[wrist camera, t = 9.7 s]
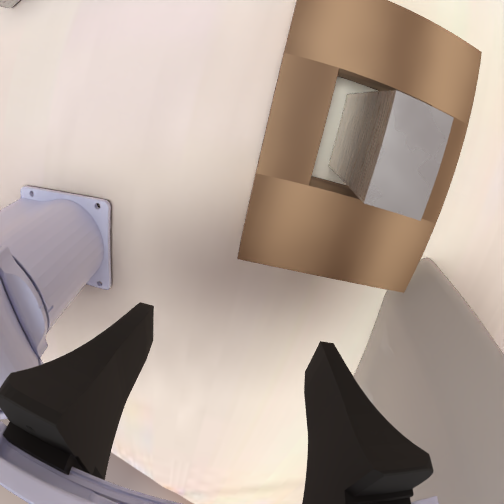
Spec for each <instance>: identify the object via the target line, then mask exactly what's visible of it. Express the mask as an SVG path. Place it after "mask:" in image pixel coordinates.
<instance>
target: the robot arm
mask: <svg viewBox="0 0 504 504" xmlns="http://www.w3.org/2000/svg"><path fill="white" fill-rule="evenodd" d="M32 191H33V193H34V195H33V193H32ZM97 203H98V204H99V205H100V208H99V207H98V206H97ZM110 212H111V206H110V203H109V202H108V201H107V200H105V199H99V198H94V197H88V196H83V195H77V194H72V193H66V192H61V191H55V190H49V189H43V188H37V187H32V186H23V187H22V188H21V198H20V199H19V200H17V201H15V202H13V203H11V204H10V205H8V206H6V207H5V208H3V209H1V210H0V419H9V421H10V422H9V424H8V426H6V425H5V424H4V423H2V422H1V421H0V485H2V486H3V487H4V488H6V489H7V490H9V491H10V492H12V493H13V494H15V495H16V496H18V497H20V498H21V499H23V500H24V501H26V502H27V503H29V504H117V503H118V504H181V503H177V502H173V501H169V500H165V499H160V498H157V497H154V496H150V495H147V494H143V493H140V492H137V491H134V490H130V489H128V488H125V487H122V486H119V485H116V484H113V483H111V482H108V481H105V475H106V470H107V466H108V461H109V456H110V453H111V449H112V445H113V441H114V437H115V434H116V431H117V427H118V424H119V421H120V418H121V415H122V412H123V409H124V406H125V403H126V401H127V398H128V396H129V394H130V392H131V390H132V388H133V386H134V384H135V382H136V380H137V378H138V376H139V374H140V372H141V369H142V367H143V365H144V363H145V361H146V359H147V356H148V353H149V351H150V348H151V345H152V342H153V309H154V306H152V305H148V304H144V303H139V304H137V305H136V306H135V307H134V308H132V309H131V310H130V311H129V312H128V313H127V314H125V315H124V316H123V317H122V318H120V319H119V320H118V321H117V322H115V323H114V324H113V325H112V326H110V327H109V328H108V329H106V330H105V331H104V332H102V333H101V334H99V335H98V336H96V337H95V338H93V339H92V340H91V341H89V342H87V343H86V344H84V345H82V346H81V347H79V348H77V349H75V350H74V351H72V352H70V353H68V354H66V355H64V356H61V357H59V358H57V359H55V360H53V361H50V362H47V363H45V364H43V362H42V360H41V359H40V357H41V356H42V354H43V353H44V351H45V350H46V348H47V347H48V345H47V342H46V334H47V332H48V331H49V330H50V328H51V327H52V326H53V324H54V323H55V322H56V320H57V319H58V318H59V317H60V315H61V314H62V313H63V311H64V310H65V309H66V308H67V306H68V305H69V304H70V303H71V301H72V300H73V299H74V298H75V296H76V295H77V294H78V293H79V292H80V290H81V289H82V288H83V287H84V286H85V284H88V285H91V286H95V287H98V288H102V289H105V290H108V289H109V288H110V287H111V260H110ZM99 281H100V282H101V283H102V284H101V283H100V282H99ZM304 394H305V405H306V416H307V428H308V459H307V472H306V481H305V490H304V497H303V503H302V504H439V502H438V497H437V496H433V497H429V498H425V499H421V500H417V501H414V502H411V500H410V497H412V496H413V495H414V493H413V488H415V487H416V486H418V485H419V484H421V483H422V482H424V481H425V480H427V479H428V478H429V477H430V476H431V475H432V474H433V471H434V470H433V466H432V462H431V459H430V455H429V453H427V452H426V451H424V450H423V449H421V448H420V447H418V446H417V445H415V444H414V443H412V442H411V441H410V440H409V439H407V438H406V437H405V436H404V435H402V434H401V433H400V432H399V431H398V430H397V429H396V428H395V427H394V426H393V425H392V424H390V423H389V422H388V421H387V420H386V419H385V417H384V416H383V415H382V414H381V413H380V412H379V411H378V410H377V408H376V407H375V406H374V405H373V404H372V402H371V401H370V400H369V399H368V397H367V396H366V395H365V393H364V392H363V390H362V389H361V388H360V386H359V385H358V383H357V382H356V380H355V379H354V377H353V375H352V374H351V372H350V371H349V369H348V367H347V366H346V364H345V362H344V361H343V359H342V357H341V355H340V354H339V352H338V350H337V349H336V347H335V345H334V344H333V343H327V342H321V341H320V343H319V345H318V347H317V349H316V351H315V353H314V355H313V357H312V359H311V361H310V363H309V365H308V367H307V369H306V371H305V387H304Z"/></svg>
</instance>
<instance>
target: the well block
mask: <svg viewBox="0 0 504 504" xmlns="http://www.w3.org/2000/svg"><path fill="white" fill-rule="evenodd" d="M481 53H482V52H481V51H479V50H478V49H476V48H475V47H473V46H472V45H470V44H469V43H467V42H466V41H464V40H462V39H461V38H459V37H458V36H456V35H454V34H453V33H451V32H449V31H448V30H446V29H444V28H442V27H441V26H439V25H437V24H435V23H434V22H432V21H430V20H428V19H426V18H424V17H422V16H420V15H418V14H416V13H414V12H412V11H410V10H408V9H406V8H404V7H401V6H399V5H397V4H395V3H393V2H390V1H388V0H297V2H296V6H295V10H294V14H293V18H292V22H291V26H290V30H289V34H288V38H287V42H286V46H285V51H284V55H283V59H282V63H281V67H280V71H279V75H278V80H277V84H276V88H275V92H274V96H273V101H272V105H271V109H270V114H269V118H268V122H267V126H266V131H265V135H264V139H263V144H262V148H261V152H260V157H259V161H258V166H257V170H256V174H255V179H254V183H253V188H252V192H251V197H250V201H249V206H248V210H247V215H246V219H245V224H244V228H243V233H242V237H241V242H240V248H239V253H238V258H237V259H240V260H245V261H250V262H254V263H259V264H264V265H269V266H274V267H278V268H283V269H288V270H293V271H298V272H303V273H307V274H312V275H317V276H322V277H327V278H332V279H337V280H342V281H347V282H352V283H357V284H362V285H367V286H372V287H377V288H382V289H387V290H392V291H397V292H402V293H404V292H405V290H406V288H407V286H408V284H409V282H410V280H411V278H412V276H413V274H414V272H415V270H416V268H417V266H418V263H419V261H420V259H421V257H422V255H423V252H424V250H425V248H426V246H427V243H428V241H429V239H430V236H431V234H432V232H433V229H434V227H435V224H436V222H437V219H438V217H439V214H440V211H441V209H442V206H443V204H444V201H445V198H446V195H447V192H448V190H449V187H450V184H451V181H452V178H453V175H454V172H455V169H456V166H457V162H458V159H459V156H460V152H461V149H462V145H463V142H464V138H465V134H466V130H467V127H468V123H469V118H470V114H471V110H472V105H473V101H474V96H475V91H476V85H477V80H478V74H479V67H480V61H481ZM337 76H339V77H342V78H345V79H348V80H351V81H354V82H357V83H360V84H363V85H366V86H368V87H371V88H374V89H376V90H379V91H390V90H397V91H400V92H402V93H404V94H406V95H409V96H411V97H413V98H415V99H418V100H420V101H422V102H424V103H426V104H428V105H430V106H432V107H434V108H436V109H438V110H440V111H442V112H444V113H446V114H448V115H450V116H451V117H453V122H452V126H451V130H450V134H449V137H448V141H447V145H446V148H445V151H444V155H443V158H442V161H441V165H440V168H439V171H438V174H437V177H436V180H435V183H434V186H433V189H432V191H431V194H430V197H429V200H428V203H427V205H426V208H425V211H424V213H423V216H422V218H421V221H419V220H416V219H413V218H410V217H407V216H404V215H401V214H397V213H394V212H391V211H388V210H384V209H381V208H378V207H374V206H371V205H368V204H364V203H363V202H362V201H361V200H360V199H359V198H358V197H357V195H356V194H355V193H354V192H353V191H352V190H351V189H350V188H349V187H348V186H345V185H342V184H338V183H335V182H331V181H327V180H324V179H320V178H316V177H312V176H311V175H312V172H313V168H314V165H315V161H316V157H317V153H318V150H319V146H320V142H321V138H322V135H323V131H324V127H325V123H326V119H327V115H328V112H329V108H330V104H331V100H332V96H333V92H334V88H335V83H336V79H337Z"/></svg>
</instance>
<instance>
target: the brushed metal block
mask: <svg viewBox="0 0 504 504" xmlns="http://www.w3.org/2000/svg"><path fill="white" fill-rule="evenodd" d="M452 122H453V117H451V116H450V115H448V114H446V113H444V112H442V111H440V110H438V109H436V108H434V107H432V106H430V105H428V104H426V103H424V102H422V101H420V100H418V99H415V98H413V97H411V96H409V95H406V94H404V93H402V92H400V91H397V90H390V91H376V92H364V93H354V94H347V98H346V102H345V106H344V110H343V113H342V117H341V121H340V125H339V129H338V132H337V136H336V140H335V144H334V147H333V151H332V154H331V158H330V162H329V166H330V168H331V169H332V170H333V171H334V172H335V173H336V174H337V175H338V176H339V177H340V178H341V179H342V180H343V181H344V182H345V183H346V184H347V186H348V187H349V188H350V189H351V190H352V191H353V192H354V193H355V194H356V195H357V197H358V198H359V199H360V200H361V201H362V202H363V203H364V204H368V205H371V206H374V207H378V208H381V209H384V210H388V211H391V212H394V213H397V214H401V215H404V216H407V217H410V218H413V219H416V220H419V221H421V218H422V216H423V213H424V211H425V208H426V205H427V203H428V200H429V197H430V194H431V191H432V189H433V186H434V183H435V180H436V177H437V174H438V171H439V168H440V165H441V161H442V158H443V155H444V151H445V148H446V145H447V141H448V137H449V134H450V130H451V126H452Z"/></svg>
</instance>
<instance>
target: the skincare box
mask: <svg viewBox="0 0 504 504" xmlns="http://www.w3.org/2000/svg"><path fill="white" fill-rule="evenodd" d="M19 1H20V0H0V6H1V7H5V8H12V7H13V6H14V5H15V4H16V3H18V2H19Z"/></svg>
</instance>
